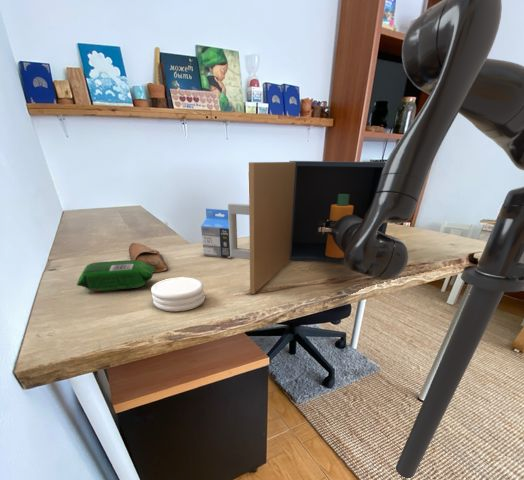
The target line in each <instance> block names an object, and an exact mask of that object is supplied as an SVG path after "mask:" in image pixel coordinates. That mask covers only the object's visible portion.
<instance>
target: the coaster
mask: <svg viewBox="0 0 524 480" xmlns="http://www.w3.org/2000/svg"><path fill="white" fill-rule="evenodd" d="M204 288H205V286H204V284H203V282H202V281H200V280H199V279H197V278H192V277H180V276H179V277H171V278H166V279H163V280H160V281H157V282H155V283H154V284H152V286H151V287H150V292H151V297H152V302H153V305H154V306H155V307H156V308H157V309H160V310H161V311H166V312H184V311H189V310H192V309H196V308H197V307H199V306H201V305H202V304H203V303H204V302H205V299H206V296H205V290H204Z"/></svg>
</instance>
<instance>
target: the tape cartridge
mask: <svg viewBox="0 0 524 480" xmlns="http://www.w3.org/2000/svg"><path fill="white" fill-rule="evenodd" d="M219 214H220V215H219ZM221 215H223V216H221ZM200 230H201V240H202V250H203V251H202V253H203V256H207V257H216V258H217V257H218V258H224V259H225V258H226V259H232V258H233V257H230V242H229V221H228V209H218V208H217V209H216V208H205V219H204V221H203V223H202V224H201V226H200Z"/></svg>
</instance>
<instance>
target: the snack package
mask: <svg viewBox="0 0 524 480" xmlns="http://www.w3.org/2000/svg"><path fill="white" fill-rule="evenodd" d="M154 270H158V269H156V268H155V267H154V266H150V265H148V264H146V263H144V262H142V261H137V260H131V259H129V260H128V259H127V260H112V261H96V262H92V263H89V264H87V265H86V266H85V267H84V268H83V271H82V272H81V274H80V275H79V278H78V281H77V283H76V286H78V287H83V288H85V289H87V290H89V291H92V292H106V291H118V290H128V289H137V288H142V287H144V286H145V285H146V284H147V282H148V281H149V280H151V279H152V278H153V276H154V275H153V274H154V273H152V272H153V271H154Z"/></svg>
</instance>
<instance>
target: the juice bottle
mask: <svg viewBox="0 0 524 480" xmlns="http://www.w3.org/2000/svg"><path fill="white" fill-rule="evenodd" d="M349 196H350V195H349V194H338V201H337V204H333V205H331V212H330V220H334V219H335V220H339V219H340V218H342V217H343V216H346V215H352V214H353V207H354V206H353V205H348V203H349ZM325 255H326V256H328V257H333V258H342V257H344V253H343V252H342V251H341V250H340V248H339V247H338V246H337V245H336V243H335V242H334V240H333V237H332V235H330V234H329V233H328V236H327V244H326V252H325Z"/></svg>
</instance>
